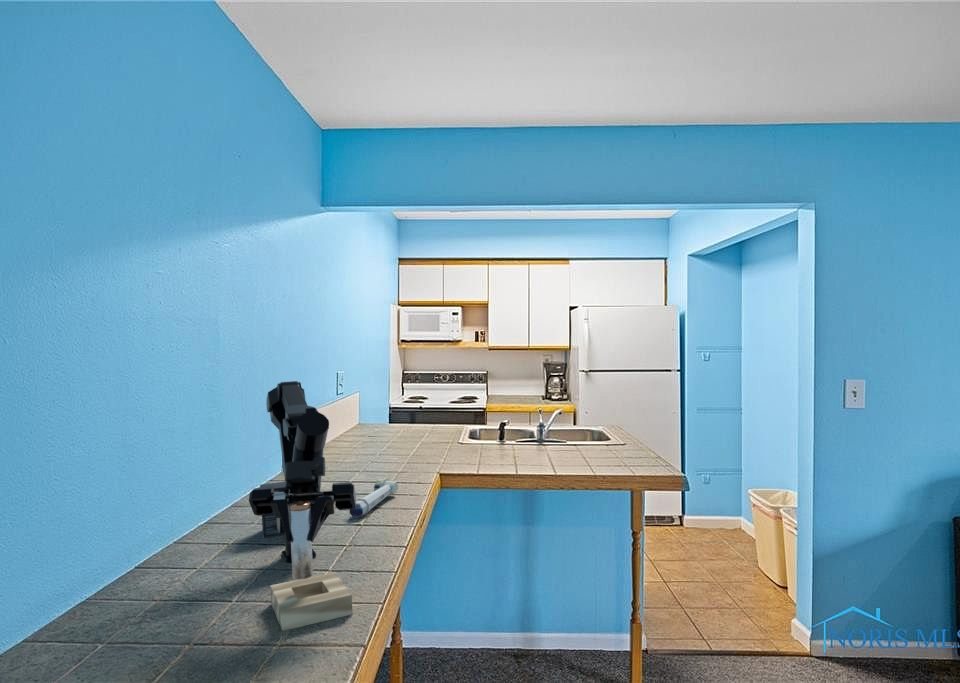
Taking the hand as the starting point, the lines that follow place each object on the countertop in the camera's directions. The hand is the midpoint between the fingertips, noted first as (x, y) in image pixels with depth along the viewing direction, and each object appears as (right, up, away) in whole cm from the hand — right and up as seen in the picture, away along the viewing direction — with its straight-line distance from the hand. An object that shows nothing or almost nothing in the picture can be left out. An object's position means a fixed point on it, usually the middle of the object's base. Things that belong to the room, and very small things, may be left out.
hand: (300, 541), depth 112 cm
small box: (-16, -13, +48) cm, 52 cm away
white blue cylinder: (-1, -9, +68) cm, 69 cm away
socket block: (+1, -13, +2) cm, 13 cm away
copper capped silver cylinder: (0, -7, +2) cm, 7 cm away
